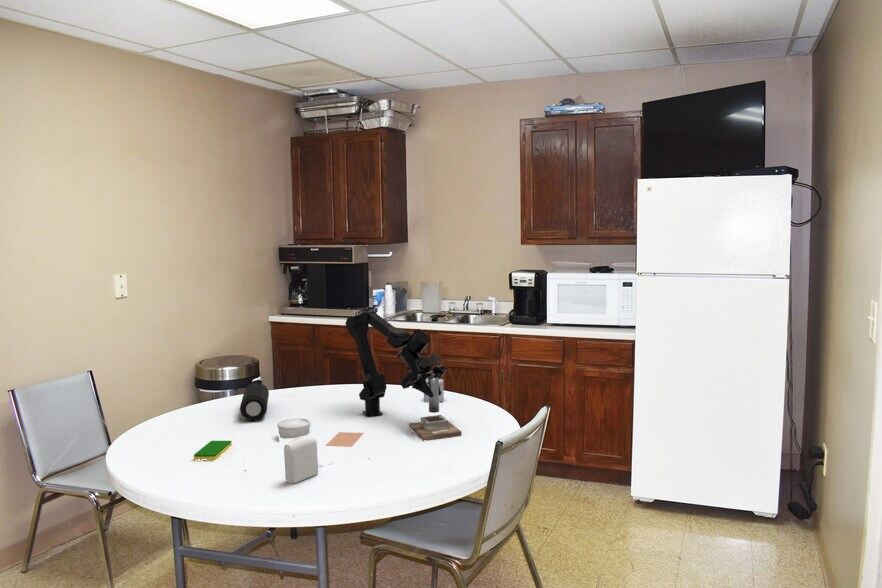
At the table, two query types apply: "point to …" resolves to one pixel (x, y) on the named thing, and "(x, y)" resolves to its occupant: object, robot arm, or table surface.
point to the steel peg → (434, 394)
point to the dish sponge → (212, 450)
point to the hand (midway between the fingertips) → (436, 395)
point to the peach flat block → (344, 439)
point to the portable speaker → (254, 401)
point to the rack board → (434, 428)
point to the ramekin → (293, 427)
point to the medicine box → (441, 397)
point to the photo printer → (300, 459)
